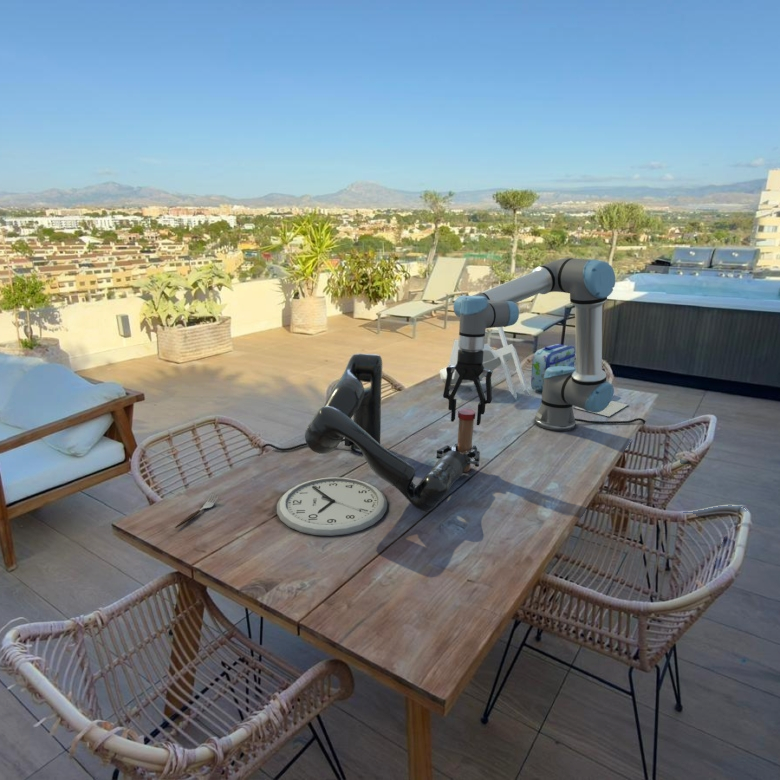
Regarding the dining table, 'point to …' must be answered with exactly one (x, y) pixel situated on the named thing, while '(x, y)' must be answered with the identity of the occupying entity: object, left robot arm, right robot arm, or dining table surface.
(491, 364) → the white plastic object
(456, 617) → the dining table surface
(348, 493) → the wall clock
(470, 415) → the lid
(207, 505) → the fork
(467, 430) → the wooden cylinder
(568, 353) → the lunch box
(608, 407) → the invitation card
